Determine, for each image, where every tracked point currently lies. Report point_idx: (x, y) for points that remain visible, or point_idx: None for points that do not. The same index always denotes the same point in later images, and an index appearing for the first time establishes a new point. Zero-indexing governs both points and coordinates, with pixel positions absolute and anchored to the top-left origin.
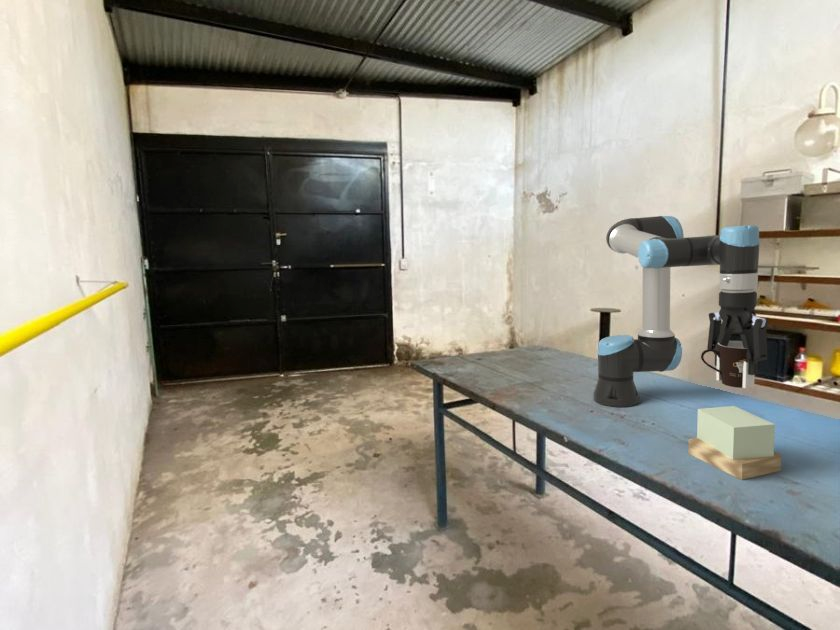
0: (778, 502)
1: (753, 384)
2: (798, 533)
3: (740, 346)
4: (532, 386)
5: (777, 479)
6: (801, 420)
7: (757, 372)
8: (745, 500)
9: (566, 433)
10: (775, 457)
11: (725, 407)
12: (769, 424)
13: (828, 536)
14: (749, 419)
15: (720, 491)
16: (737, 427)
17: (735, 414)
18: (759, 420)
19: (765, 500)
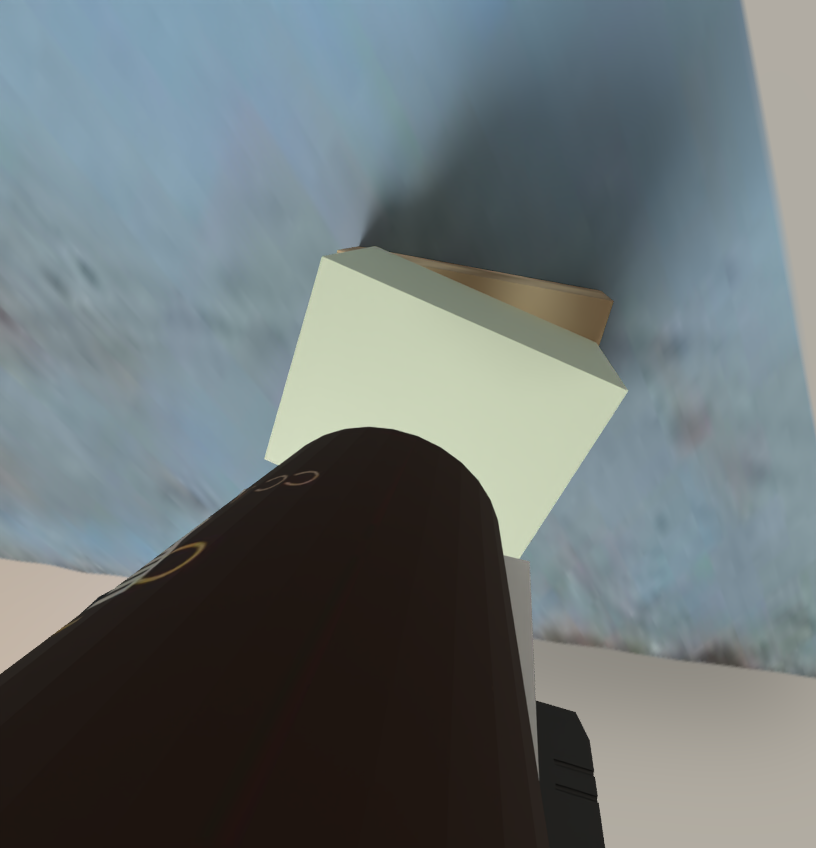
0: (679, 516)
1: (528, 587)
2: (768, 622)
3: None
4: None
5: (620, 372)
6: None
7: (589, 741)
8: (609, 566)
9: (87, 560)
10: (601, 335)
11: (314, 328)
12: (607, 414)
13: None
14: (500, 417)
15: (542, 566)
16: (519, 556)
17: (414, 399)
18: (542, 394)
19: (648, 530)
